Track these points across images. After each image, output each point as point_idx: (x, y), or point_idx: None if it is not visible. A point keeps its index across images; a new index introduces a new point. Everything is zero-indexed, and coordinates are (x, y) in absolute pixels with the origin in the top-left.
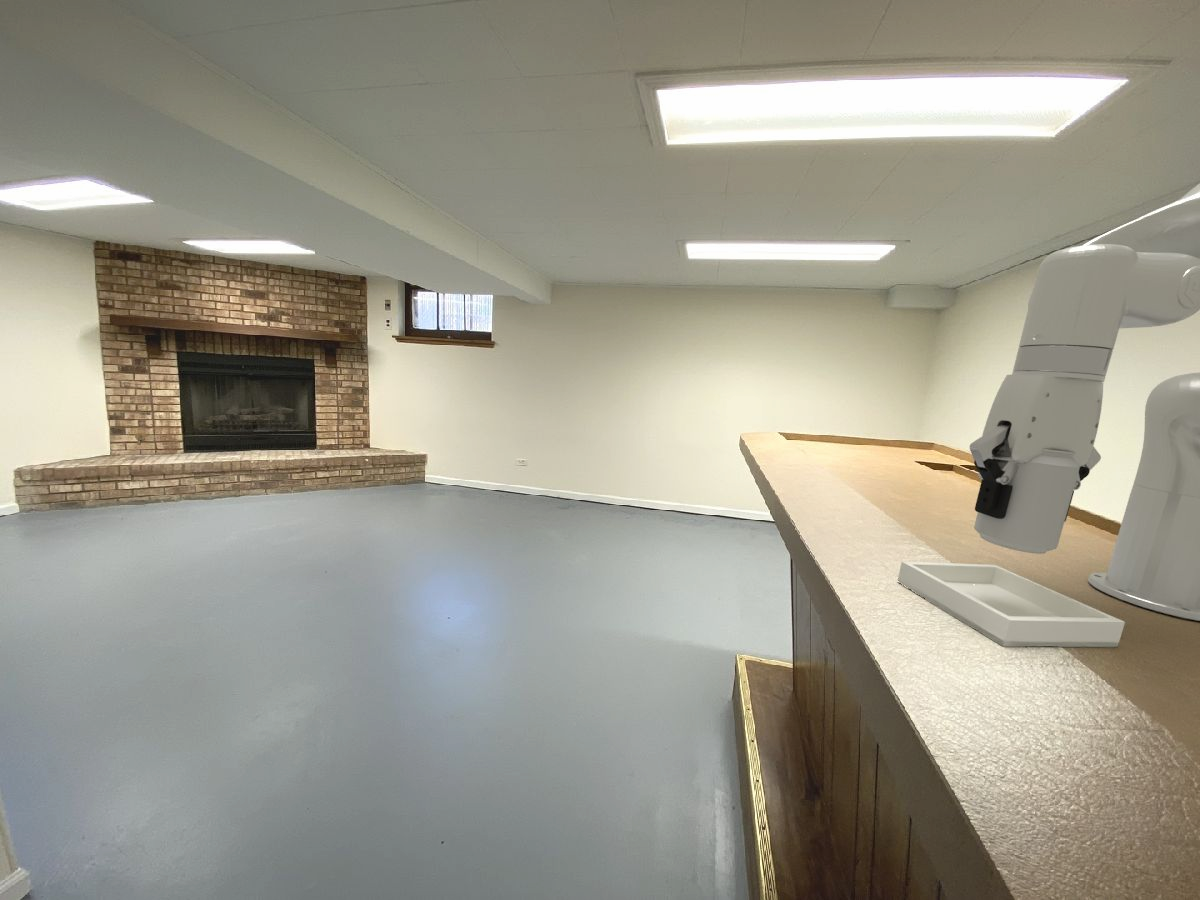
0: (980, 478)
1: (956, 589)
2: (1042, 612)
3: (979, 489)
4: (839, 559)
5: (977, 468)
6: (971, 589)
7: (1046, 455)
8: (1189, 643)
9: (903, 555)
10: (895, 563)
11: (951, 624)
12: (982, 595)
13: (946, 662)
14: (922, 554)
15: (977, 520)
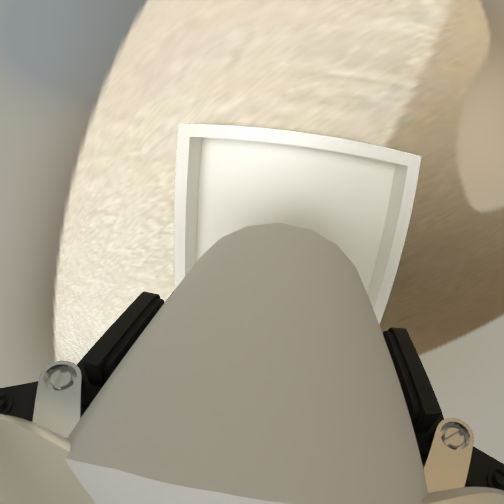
0: (65, 364)
1: (181, 246)
2: (356, 266)
3: (107, 330)
4: (161, 35)
5: (16, 387)
6: (313, 179)
7: None
8: (468, 332)
9: (344, 11)
10: (279, 42)
11: (166, 259)
12: (310, 202)
13: (103, 311)
14: (399, 17)
15: (192, 267)
